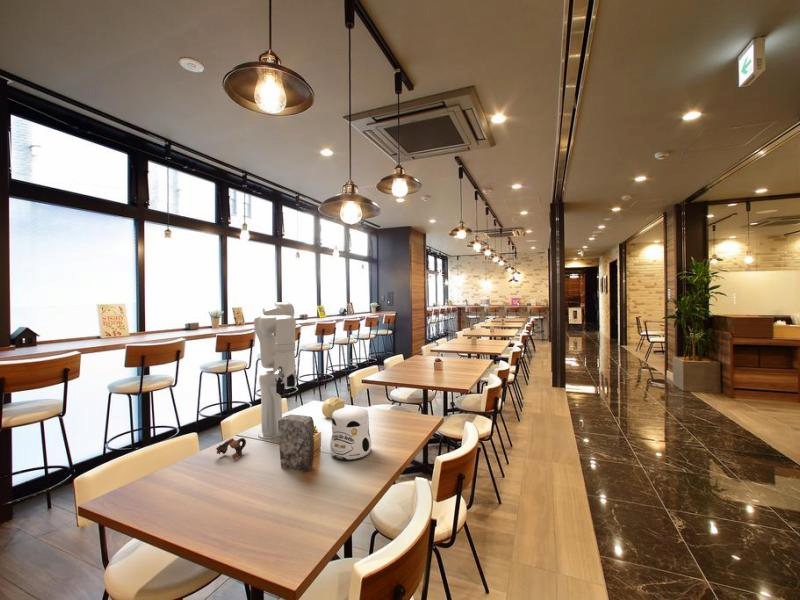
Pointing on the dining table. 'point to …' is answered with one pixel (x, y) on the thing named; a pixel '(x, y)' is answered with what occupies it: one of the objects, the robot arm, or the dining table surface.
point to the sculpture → (332, 406)
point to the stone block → (296, 442)
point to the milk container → (350, 434)
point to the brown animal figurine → (233, 444)
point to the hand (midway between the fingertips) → (285, 389)
